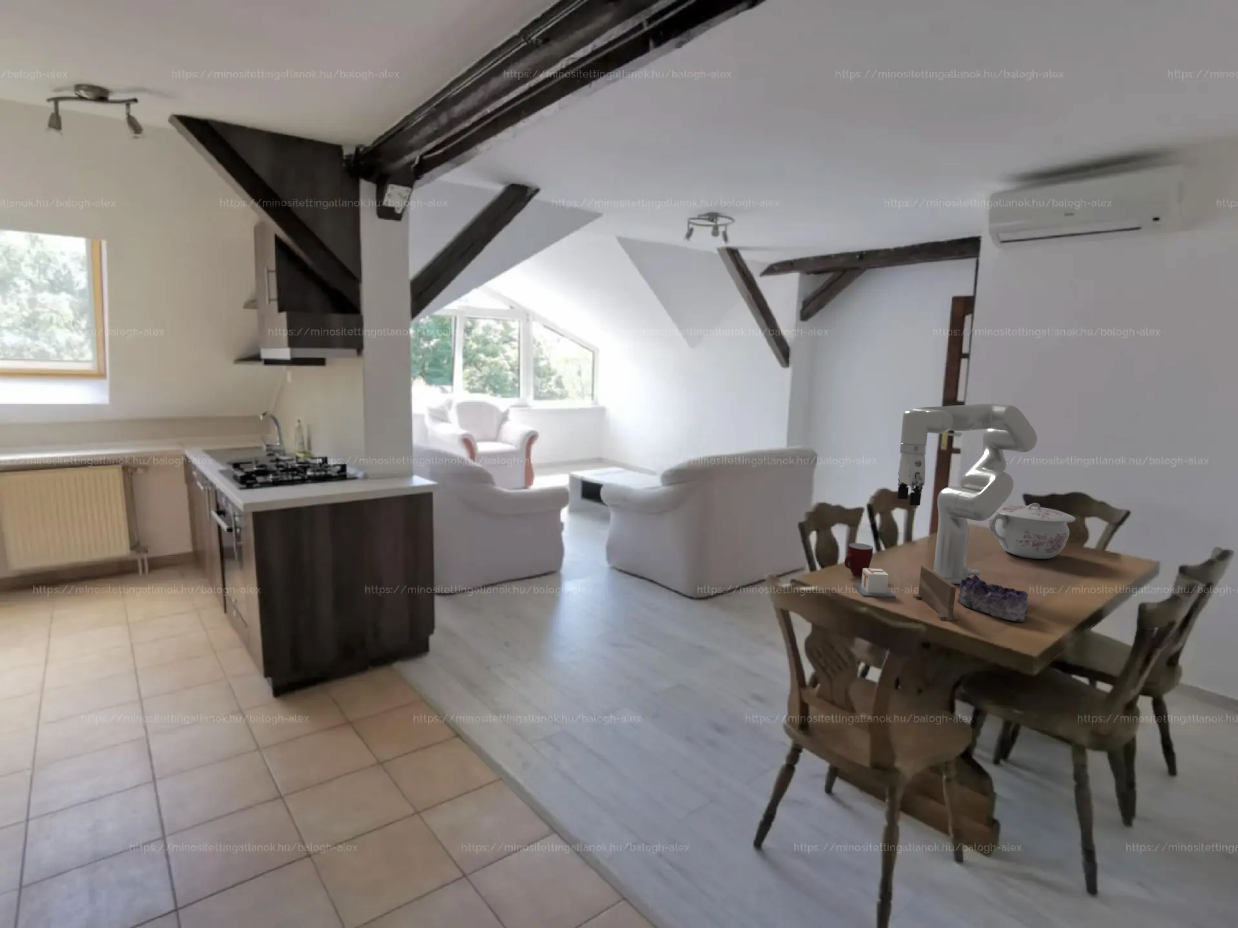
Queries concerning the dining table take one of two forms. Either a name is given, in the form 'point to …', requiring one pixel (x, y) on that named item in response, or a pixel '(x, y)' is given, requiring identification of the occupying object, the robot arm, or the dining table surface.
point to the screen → (937, 593)
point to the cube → (874, 580)
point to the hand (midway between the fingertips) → (908, 501)
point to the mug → (858, 557)
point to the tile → (865, 593)
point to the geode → (993, 599)
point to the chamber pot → (1031, 530)
